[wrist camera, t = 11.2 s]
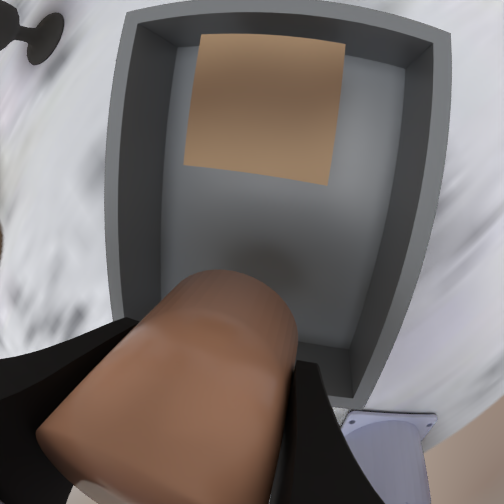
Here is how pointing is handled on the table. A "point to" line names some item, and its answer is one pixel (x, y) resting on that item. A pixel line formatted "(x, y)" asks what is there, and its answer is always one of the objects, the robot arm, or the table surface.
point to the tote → (283, 180)
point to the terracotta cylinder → (184, 400)
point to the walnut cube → (265, 105)
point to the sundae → (30, 33)
